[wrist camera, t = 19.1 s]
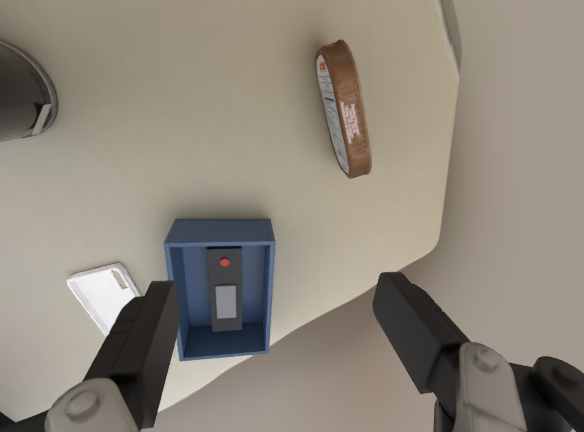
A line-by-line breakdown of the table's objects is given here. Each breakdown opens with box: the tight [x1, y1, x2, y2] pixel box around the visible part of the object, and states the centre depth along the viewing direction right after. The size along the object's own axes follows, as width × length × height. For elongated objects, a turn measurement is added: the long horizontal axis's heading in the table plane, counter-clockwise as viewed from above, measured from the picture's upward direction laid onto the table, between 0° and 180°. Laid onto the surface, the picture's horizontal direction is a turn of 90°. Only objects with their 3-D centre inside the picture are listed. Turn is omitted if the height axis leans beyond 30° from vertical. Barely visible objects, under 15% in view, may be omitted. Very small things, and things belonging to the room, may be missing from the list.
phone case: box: [67, 263, 141, 337], centre depth 42 cm, size 7×1×15 cm
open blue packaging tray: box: [164, 219, 275, 361], centre depth 41 cm, size 13×20×6 cm, turn 176°
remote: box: [207, 246, 242, 332], centre depth 41 cm, size 5×15×4 cm, turn 176°
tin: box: [316, 40, 372, 179], centre depth 32 cm, size 15×3×8 cm, turn 17°
